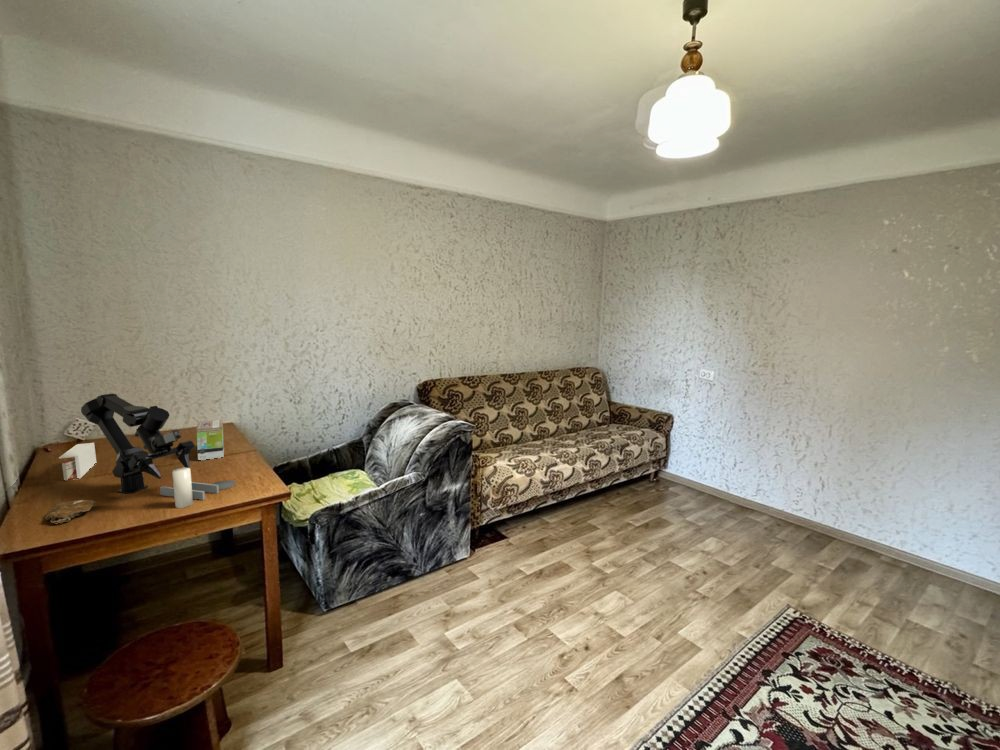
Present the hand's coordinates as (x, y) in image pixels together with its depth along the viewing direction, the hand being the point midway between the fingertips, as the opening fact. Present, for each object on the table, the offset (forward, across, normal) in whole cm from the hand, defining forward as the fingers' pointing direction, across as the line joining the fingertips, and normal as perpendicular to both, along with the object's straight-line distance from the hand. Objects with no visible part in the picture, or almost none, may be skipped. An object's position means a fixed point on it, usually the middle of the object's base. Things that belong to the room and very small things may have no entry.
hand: (175, 473), depth 151 cm
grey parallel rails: (+5, +7, +10) cm, 13 cm away
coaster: (+7, +16, +8) cm, 20 cm away
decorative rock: (-7, -20, +22) cm, 31 cm away
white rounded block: (+10, 0, +5) cm, 11 cm away
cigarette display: (-38, +1, +53) cm, 65 cm away
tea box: (-20, +38, +35) cm, 56 cm away
